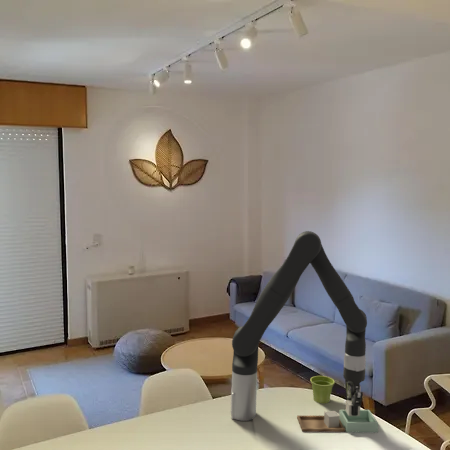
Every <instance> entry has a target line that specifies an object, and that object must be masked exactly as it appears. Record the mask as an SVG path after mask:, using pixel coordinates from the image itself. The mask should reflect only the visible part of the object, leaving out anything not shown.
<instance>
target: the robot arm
mask: <svg viewBox="0 0 450 450" xmlns="http://www.w3.org/2000/svg"><path fill="white" fill-rule="evenodd" d="M295 238H296V239H295V241H294V243H293V244H292V245H293V246H292V248H291V249H290V251H289V254H288V255H287V257H286V259H285V261H284V262H283V264H281V266H280V267H279V268H278V269H277V271H276V272H274V274H273V275H272V276H271V278H270V279H269V281H268V282H267V283H266V284H265V286H264V288H263V290H262V291H261V293H260V295H259V297H258V299H257V301H256V302H255V305H254V307H253V309H252V312H251V314H250V316H249V317H248V319H247V320H246V322H245V323H244V324H243V325H242V326H239V328H237V329H236V330H235V331H234V334H233V336H232V340H231V347H232V351H233V352H232V353H233V355H232V364H231V368H232V369H231V389H230V415H231V419H232V420H237V421H240V422H241V421H242V422H248V421H252V420H253V419H254V418H255V417H256V416H257V391H258V389H257V387H258V386H257V385H258V365H259V364H258V363H259V343H260V342H261V339H262V338H263V336H264V333H265V332H266V330H267V329H268V328H269V326H270V325H271V323H272V322H273V321H274V320H275V319H276V317H277V316H278V315H279V313H280V312H281V311H282V309H283V308H284V306H285V305H286V303H287V302H288V300H289V299H290V297H291V296H292V293H293V292H294V290H295V289H296V286H297V284H299V283H298V282H299V280H300V278H301V276H302V275H303V273H304V272H305V271H306V269H307V267H308V266H309V265H311V266H312V268H313V269H314V271H315V273H316V274H317V276H318V278H319V280H320V282H321V284H322V287H323V288H324V290H325V291H326V293H327V295H328V297H329V299H330V300H331V301H332V303H333V304H334V306H335V307H336V309H337V310H338V312H339V314H340V316H341V319H342V320H343V322H344V324H345V326H346V327H345V328H346V329H345V331H346V334H345V335H346V337H345V343H344V356H343V369H342V370H343V374H342V376H343V379H344V380H345V382H344V383H345V395H346V398H347V399H346V400H351V415H352V416H357V415H358V406H360V407H361V406H362V401H363V400H362V399H363V396H364V394H363V391H361V390H362V387H361V384H360V383H362V382H364V381H365V379H366V367H367V366H366V363H367V361H366V359H367V358H366V350H367V349H366V348H367V347H366V343H367V342H366V330H367V327H368V321H367V320H368V318H367V315H366V313H365V311H364V310H363V309H360V307H359V306H358V305H357V303H356V302H355V298H354V296H353V294H352V293H351V291H350V289H349V287H347V285H346V283H345V282H344V281H343V279H342V278H341V276H340V275H339V273H338V272H337V270H336V269H335V268H334V266H333V264H332V263H331V261H330V260H329V258H328V255H327V254H326V252H325V249H324V246H323V245H322V241H321V238H320V236H319V235H318V234H317V233H315V232H313V231H312V230H311V231H309V230H305V231H303V232H301V233H299V234H298V235H297V237H295Z"/></svg>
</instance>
